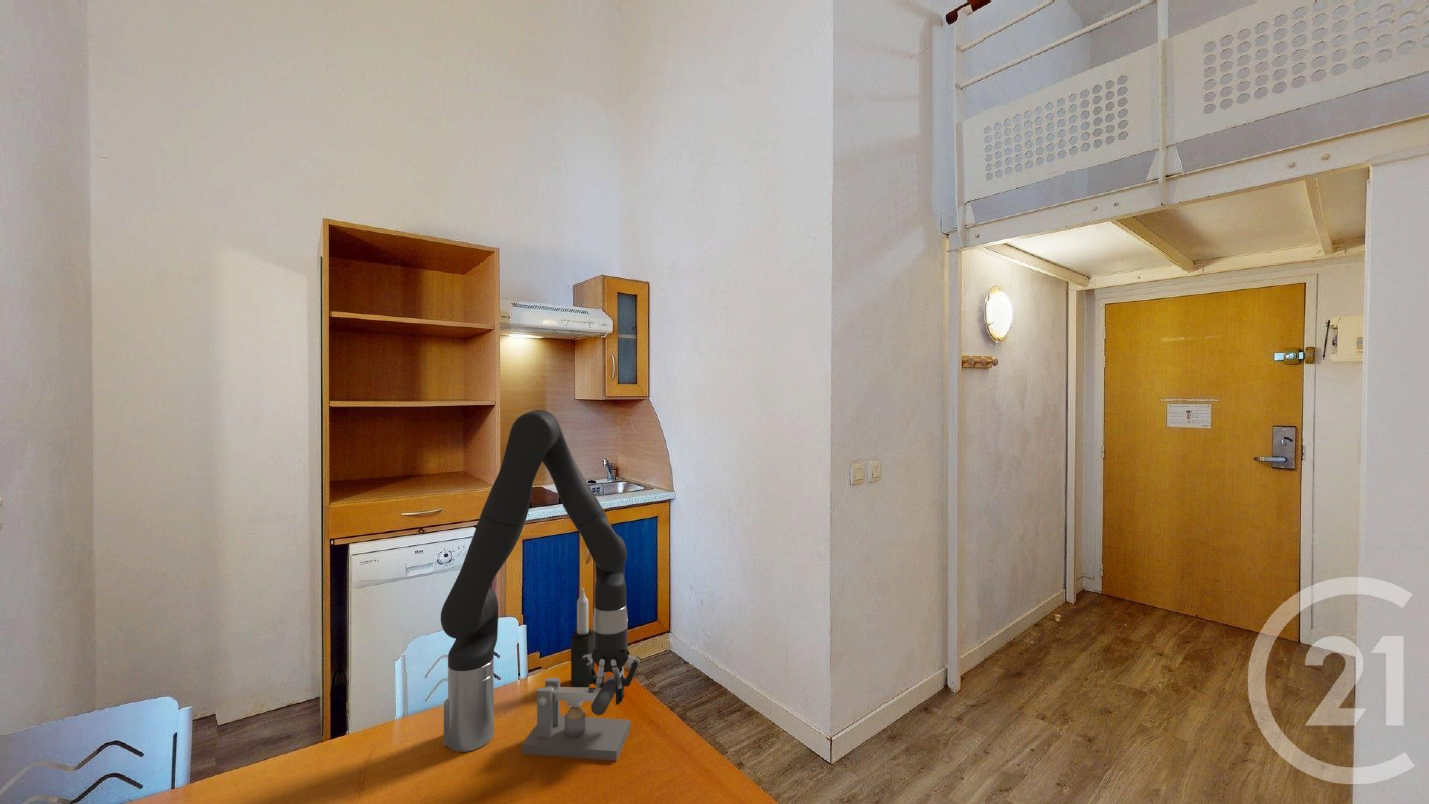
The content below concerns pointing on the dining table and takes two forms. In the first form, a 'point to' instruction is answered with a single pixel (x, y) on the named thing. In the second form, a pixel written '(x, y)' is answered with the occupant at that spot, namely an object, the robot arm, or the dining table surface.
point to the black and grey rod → (581, 643)
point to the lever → (587, 695)
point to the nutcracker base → (584, 745)
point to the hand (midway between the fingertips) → (610, 701)
